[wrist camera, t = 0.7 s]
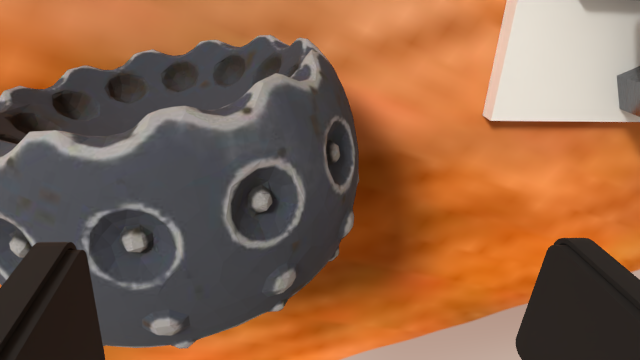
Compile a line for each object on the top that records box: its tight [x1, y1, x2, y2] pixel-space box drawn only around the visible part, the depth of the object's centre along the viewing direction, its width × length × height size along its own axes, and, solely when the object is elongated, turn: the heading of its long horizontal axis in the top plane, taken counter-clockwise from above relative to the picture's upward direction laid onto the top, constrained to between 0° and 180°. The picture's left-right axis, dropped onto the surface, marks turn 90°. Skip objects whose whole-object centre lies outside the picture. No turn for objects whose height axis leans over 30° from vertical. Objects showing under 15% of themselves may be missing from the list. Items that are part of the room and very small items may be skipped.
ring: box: [0, 35, 359, 348], centre depth 25 cm, size 11×20×20 cm, turn 98°
